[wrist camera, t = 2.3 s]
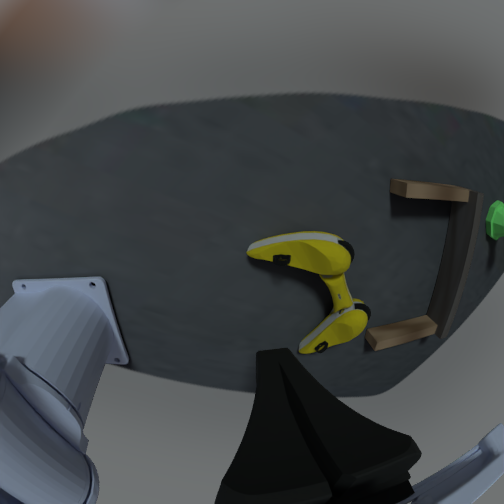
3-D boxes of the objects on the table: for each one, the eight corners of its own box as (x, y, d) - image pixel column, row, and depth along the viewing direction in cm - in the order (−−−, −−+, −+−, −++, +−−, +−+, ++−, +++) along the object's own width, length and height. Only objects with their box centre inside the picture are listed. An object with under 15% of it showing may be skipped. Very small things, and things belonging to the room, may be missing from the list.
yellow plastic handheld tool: (372, 313, 21) (377, 345, 18) (301, 330, 23) (297, 361, 21) (340, 204, 17) (344, 227, 14) (253, 233, 20) (241, 259, 17)
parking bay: (364, 337, 23) (379, 358, 20) (390, 178, 18) (416, 185, 15) (430, 321, 24) (446, 336, 21) (459, 186, 19) (483, 193, 16)
